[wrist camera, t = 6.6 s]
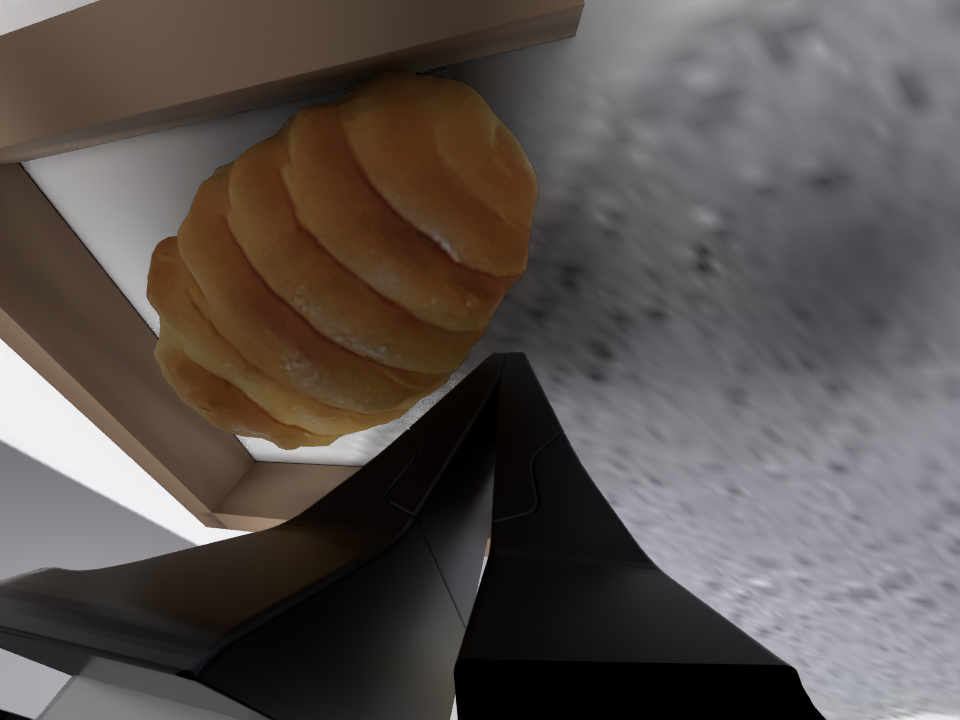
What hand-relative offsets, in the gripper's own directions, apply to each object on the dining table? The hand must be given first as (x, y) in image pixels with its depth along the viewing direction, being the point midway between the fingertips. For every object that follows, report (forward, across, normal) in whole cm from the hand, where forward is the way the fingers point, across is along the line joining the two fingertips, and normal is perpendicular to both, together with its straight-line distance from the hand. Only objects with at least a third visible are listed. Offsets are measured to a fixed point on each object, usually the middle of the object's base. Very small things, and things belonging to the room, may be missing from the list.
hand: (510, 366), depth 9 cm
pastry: (+1, +4, -2) cm, 5 cm away
